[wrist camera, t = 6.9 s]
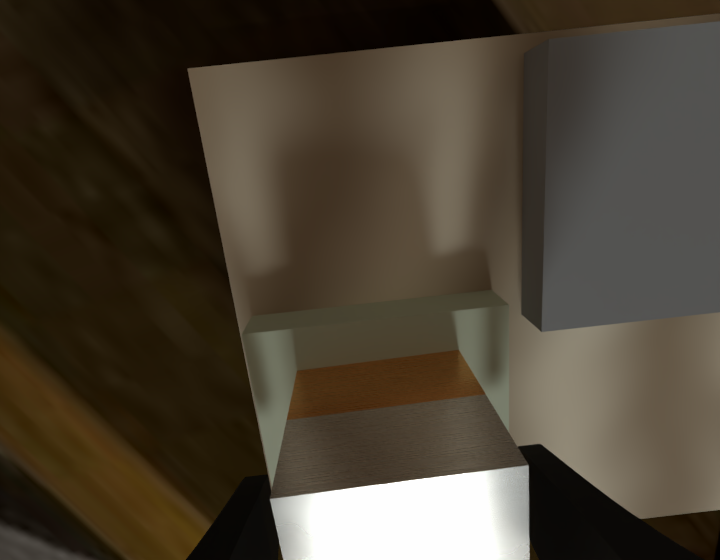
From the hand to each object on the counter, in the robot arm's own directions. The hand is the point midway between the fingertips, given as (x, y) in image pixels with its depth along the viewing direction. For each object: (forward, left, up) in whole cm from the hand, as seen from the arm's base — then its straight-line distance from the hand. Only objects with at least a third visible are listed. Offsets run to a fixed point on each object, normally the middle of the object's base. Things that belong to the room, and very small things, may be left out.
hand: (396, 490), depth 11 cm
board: (-4, -2, -5) cm, 7 cm away
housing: (0, 0, -2) cm, 2 cm away
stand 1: (0, 0, -5) cm, 5 cm away
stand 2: (-9, -7, -5) cm, 12 cm away
